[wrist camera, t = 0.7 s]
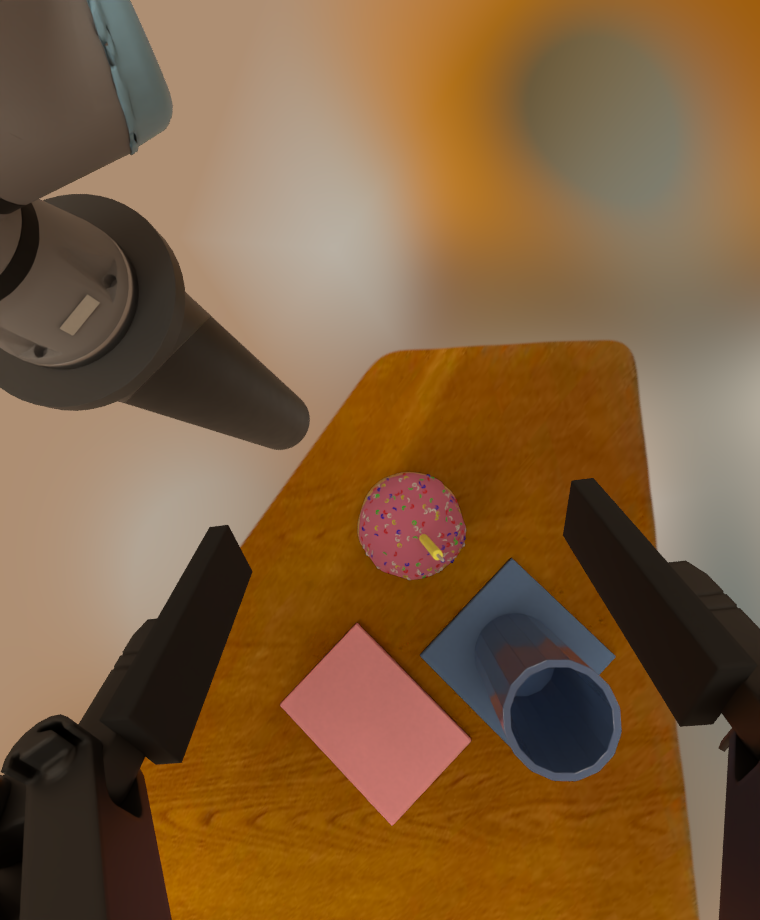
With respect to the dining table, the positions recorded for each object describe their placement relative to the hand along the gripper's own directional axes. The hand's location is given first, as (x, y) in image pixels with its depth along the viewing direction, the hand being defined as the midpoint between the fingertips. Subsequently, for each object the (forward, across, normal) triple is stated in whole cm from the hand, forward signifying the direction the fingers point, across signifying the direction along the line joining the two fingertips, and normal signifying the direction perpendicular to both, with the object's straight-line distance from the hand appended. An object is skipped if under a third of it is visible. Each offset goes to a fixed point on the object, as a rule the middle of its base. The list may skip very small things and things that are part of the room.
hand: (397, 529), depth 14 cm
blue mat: (+7, +8, -24) cm, 26 cm away
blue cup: (+7, +8, -24) cm, 26 cm away
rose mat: (+4, -6, -26) cm, 27 cm away
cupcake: (+15, 0, -13) cm, 20 cm away
